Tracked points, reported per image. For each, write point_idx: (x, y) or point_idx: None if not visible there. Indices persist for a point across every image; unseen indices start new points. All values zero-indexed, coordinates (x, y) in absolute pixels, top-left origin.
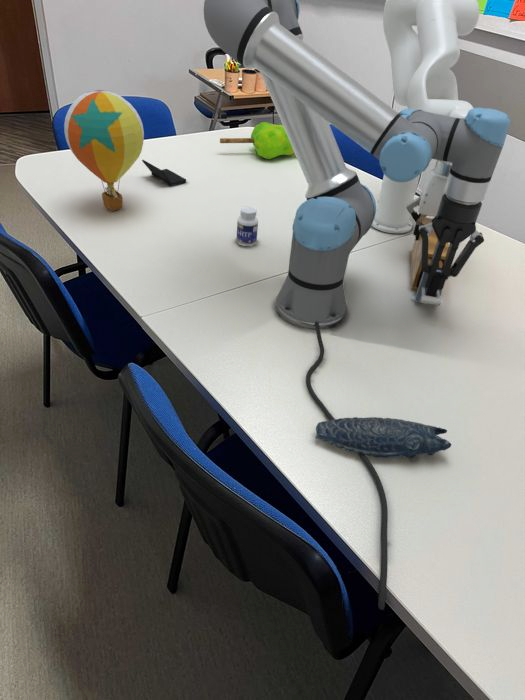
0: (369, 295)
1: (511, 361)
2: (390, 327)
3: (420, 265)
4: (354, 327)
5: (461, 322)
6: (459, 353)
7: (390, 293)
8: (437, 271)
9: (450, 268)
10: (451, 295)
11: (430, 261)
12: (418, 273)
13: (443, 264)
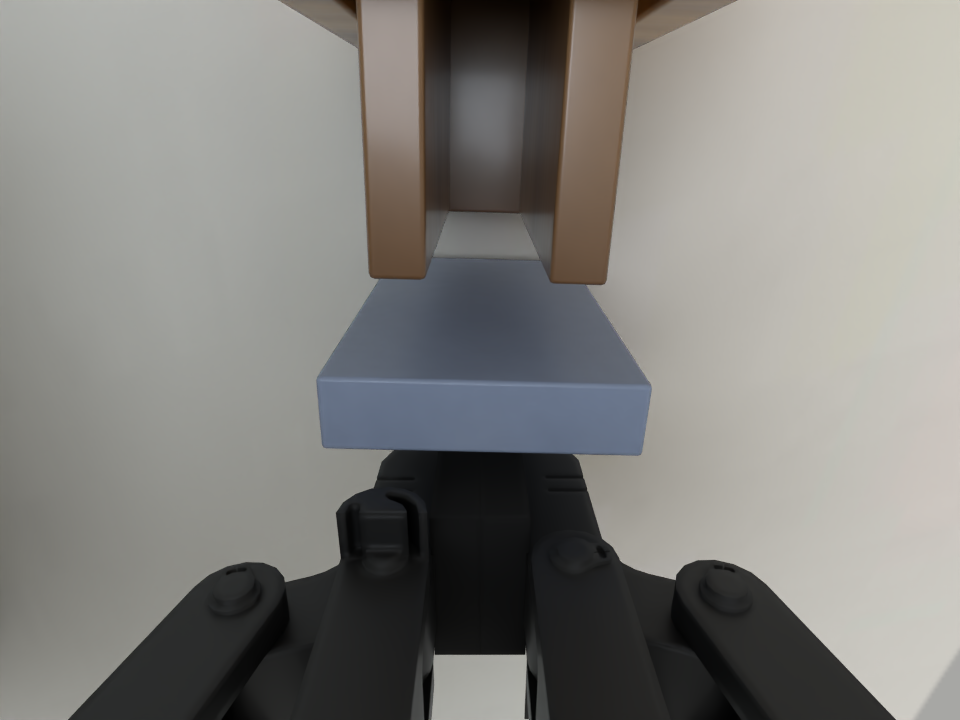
0: (46, 272)
1: (899, 679)
2: None
3: (312, 9)
4: (74, 632)
5: (721, 422)
6: None
7: (198, 184)
8: (503, 434)
9: (662, 657)
10: (741, 33)
11: (412, 95)
12: (348, 32)
13: (541, 683)
